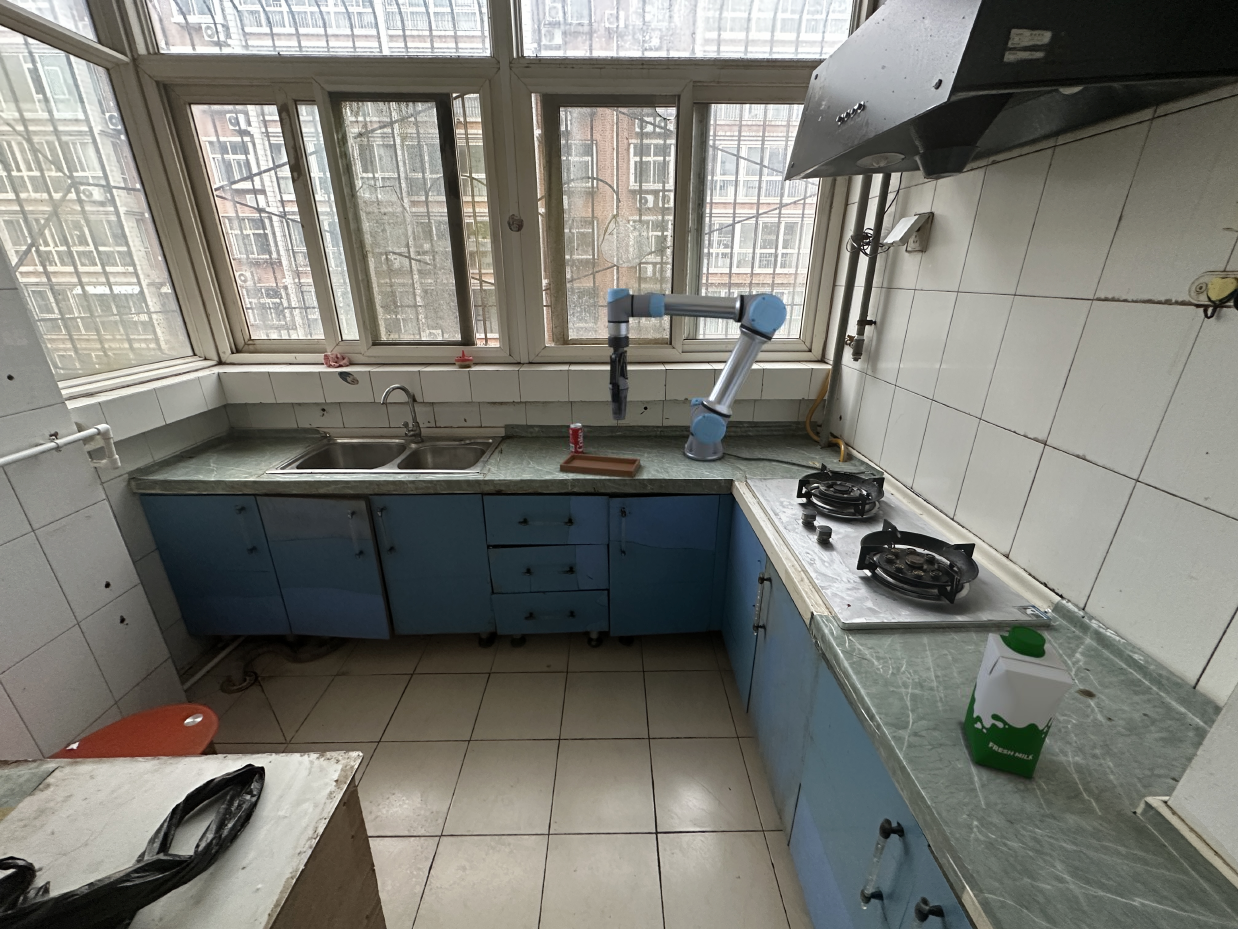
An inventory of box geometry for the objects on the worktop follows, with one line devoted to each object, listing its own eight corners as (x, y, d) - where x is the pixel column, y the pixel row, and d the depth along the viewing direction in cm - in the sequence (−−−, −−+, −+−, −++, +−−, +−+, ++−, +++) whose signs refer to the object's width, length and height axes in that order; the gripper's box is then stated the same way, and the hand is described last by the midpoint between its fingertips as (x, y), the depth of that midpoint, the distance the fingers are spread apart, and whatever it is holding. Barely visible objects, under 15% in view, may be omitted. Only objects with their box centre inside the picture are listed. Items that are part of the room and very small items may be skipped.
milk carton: (1020, 735, 78) (1059, 631, 71) (1042, 787, 70) (1089, 676, 63) (955, 719, 81) (986, 617, 74) (969, 767, 73) (1006, 659, 66)
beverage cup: (630, 416, 186) (629, 362, 179) (627, 421, 180) (627, 366, 172) (610, 415, 187) (609, 362, 180) (607, 421, 180) (606, 365, 173)
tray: (640, 465, 189) (640, 458, 188) (632, 477, 177) (632, 471, 176) (571, 459, 195) (571, 453, 194) (560, 471, 184) (559, 464, 183)
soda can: (581, 450, 205) (580, 422, 201) (584, 454, 200) (583, 426, 196) (569, 452, 203) (568, 423, 199) (572, 456, 199) (571, 427, 194)
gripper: (616, 331, 183) (617, 393, 191) (599, 338, 165) (600, 406, 173) (636, 332, 181) (636, 394, 189) (620, 339, 163) (621, 407, 171)
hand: (619, 399), depth 181 cm, fingers closed on beverage cup, 7 cm apart
